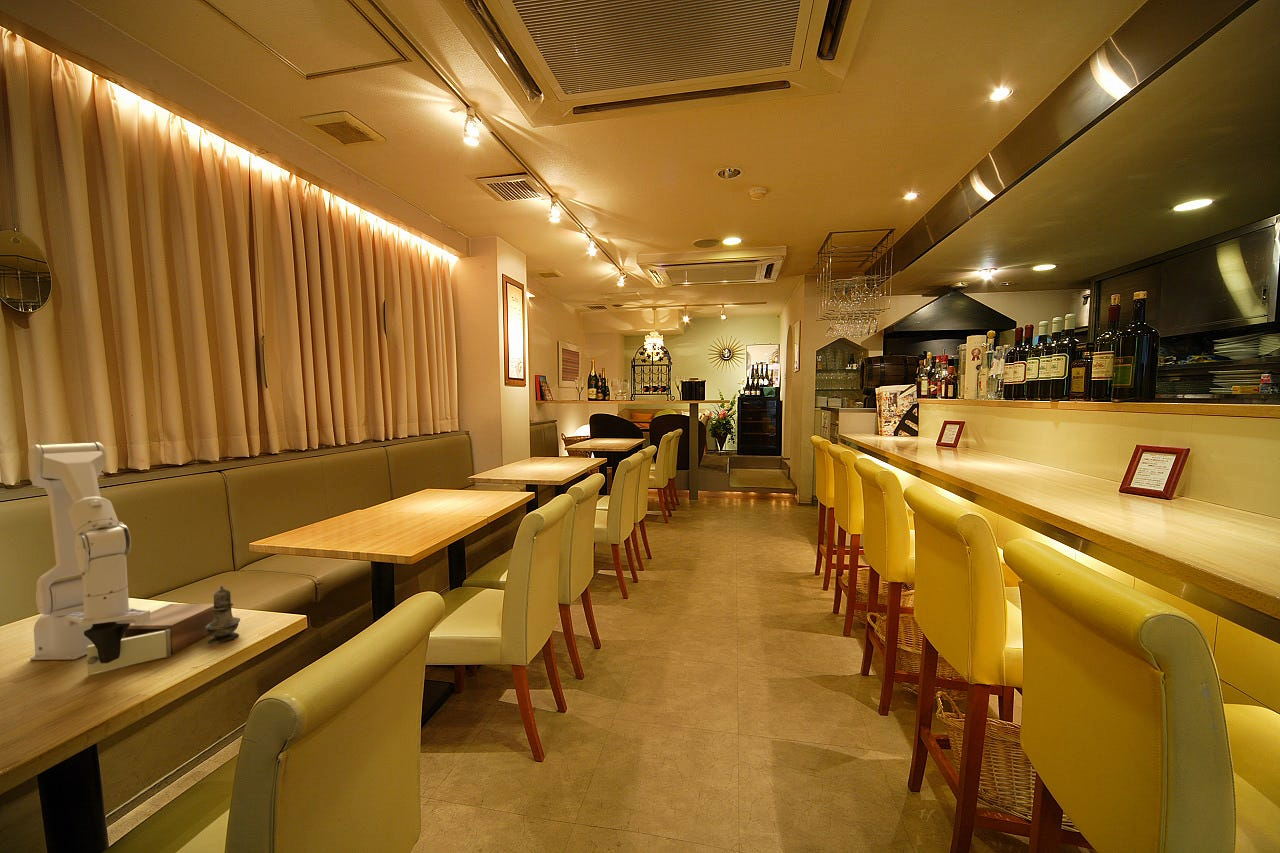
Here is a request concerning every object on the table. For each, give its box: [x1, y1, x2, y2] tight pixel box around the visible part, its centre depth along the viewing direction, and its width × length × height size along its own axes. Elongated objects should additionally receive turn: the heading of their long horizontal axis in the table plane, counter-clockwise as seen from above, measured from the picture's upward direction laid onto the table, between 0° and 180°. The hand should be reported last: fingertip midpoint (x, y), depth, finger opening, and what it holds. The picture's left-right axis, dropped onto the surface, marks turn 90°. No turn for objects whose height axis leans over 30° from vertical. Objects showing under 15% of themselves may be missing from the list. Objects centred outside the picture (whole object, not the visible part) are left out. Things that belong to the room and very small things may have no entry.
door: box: [86, 629, 172, 675], centre depth 94 cm, size 11×2×6 cm, turn 126°
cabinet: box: [122, 603, 214, 656], centre depth 104 cm, size 11×11×6 cm
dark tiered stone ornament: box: [205, 585, 241, 646], centre depth 105 cm, size 6×6×12 cm
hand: (109, 660), depth 91 cm, fingers closed, pressing on door
